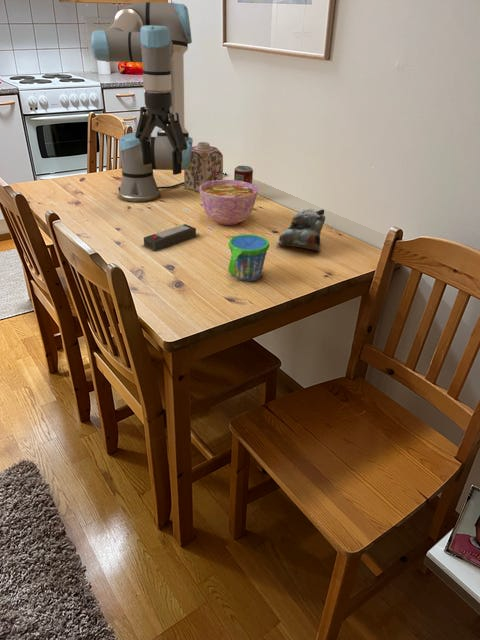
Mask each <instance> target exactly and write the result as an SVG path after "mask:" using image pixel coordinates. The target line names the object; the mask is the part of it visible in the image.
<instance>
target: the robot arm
mask: <svg viewBox="0 0 480 640" xmlns="http://www.w3.org/2000/svg"><path fill="white" fill-rule="evenodd" d="M192 38H193V37H192V30H191V23H190V14H189V9H188V7H187V6H186V5H185V4H184V3H178V2H177V3H176V2H173V1H172V2H154V1H153V2H151V1H138V2H134V3H131V4H128V5H126V6H124V7H122V8H121V9H120V10H119V11H118V12H117V13H116V14H115V17H114V19H113V23H112V24H111V25H110V27H108V29H107V30H104V29H100V30H93V31H92V33H91V39H90V40H91V41H90V42H91V50H92V54H93V57H94V59H95V60H96V61H98V62H106V63H109V62H114V63H115V62H116V63H118V62H119V63H140V64H142V83H143V90H144V93H143V95H144V106H141V107H140V108H139V118H138V122H137V126H136V130H135V132H128V133H126V134H123V135H122V136H121V137H120V138H119V154H120V155H119V156H120V165H121V175H122V176H121V182H120V186H119V187H118V188H117V189H118V195H119V196H118V197H119V198H120V199H121V200H123V201H126V202H131V203H146V202H152V201H155V200H157V199H159V197H160V190H164V189H165V190H167V189H173V188H177V187H180V186H182V185H185V184H184V181H183V182H180V183H176V184H174V185H169V186H168V185H167V186H158V185H157V182H156V179H155V176H154V170H156V171H172V175H174V176H176V175H180V174H182V171H184V170H187V169H188V168H189V166H190V161H191V153H192V147H193V142H194V140H193V137H190V133H189V131H188V130H187V129H186V125H185V72H184V71H185V69H184V68H185V67H184V66H185V65H184V62H185V61H184V59H185V58H184V56H185V53H186V52H187V51H188V49H189V45H190V44H192V43H193V42H192V41H193V39H192ZM156 127H157V128H158V130H157V131H156V136H152V134H153V131H154V130H155V128H156ZM223 175H224V176H228V174H227V173H226V172H225V174H224V173H223Z"/></svg>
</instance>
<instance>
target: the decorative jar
mask: <svg viewBox="0 0 480 640" xmlns="http://www.w3.org/2000/svg"><path fill="white" fill-rule="evenodd" d="M223 172H224V155H223V153H222V152H221V150H219V148H218V147H215V146H211V144H210V142H208V141H199V142H197V145H195V146H192V153H191V161H190V166H189V168H188V169H187V170H183V182H184V184H183V185H184V188H185V189H186V190H190V191H192V192H193V191H194V192H196V193H200V190H199V187H200V186H201V185H202V184H204V183H206V182H210V181H215V180H224V174H223Z"/></svg>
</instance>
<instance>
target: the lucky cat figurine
mask: <svg viewBox="0 0 480 640" xmlns="http://www.w3.org/2000/svg"><path fill="white" fill-rule="evenodd" d="M325 222H326V216H325V209H320V210H315V209H311V208H309V209H303V210H302V211H300V212H297V213H296V214H294V216H293V217H292V219H291V222H290V224H289V227H287V229H286V230H284V231H283V232H282V233H281V234H280V235H279V237H278V242H276V243H275V244H276V245H278V246H279V247H281V246H285V247H297V248H303V249H306V250H312V251H315V252H319V251H320V249H321V246H322V243H321V231H322V229H323V226H324V225H325Z"/></svg>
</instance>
